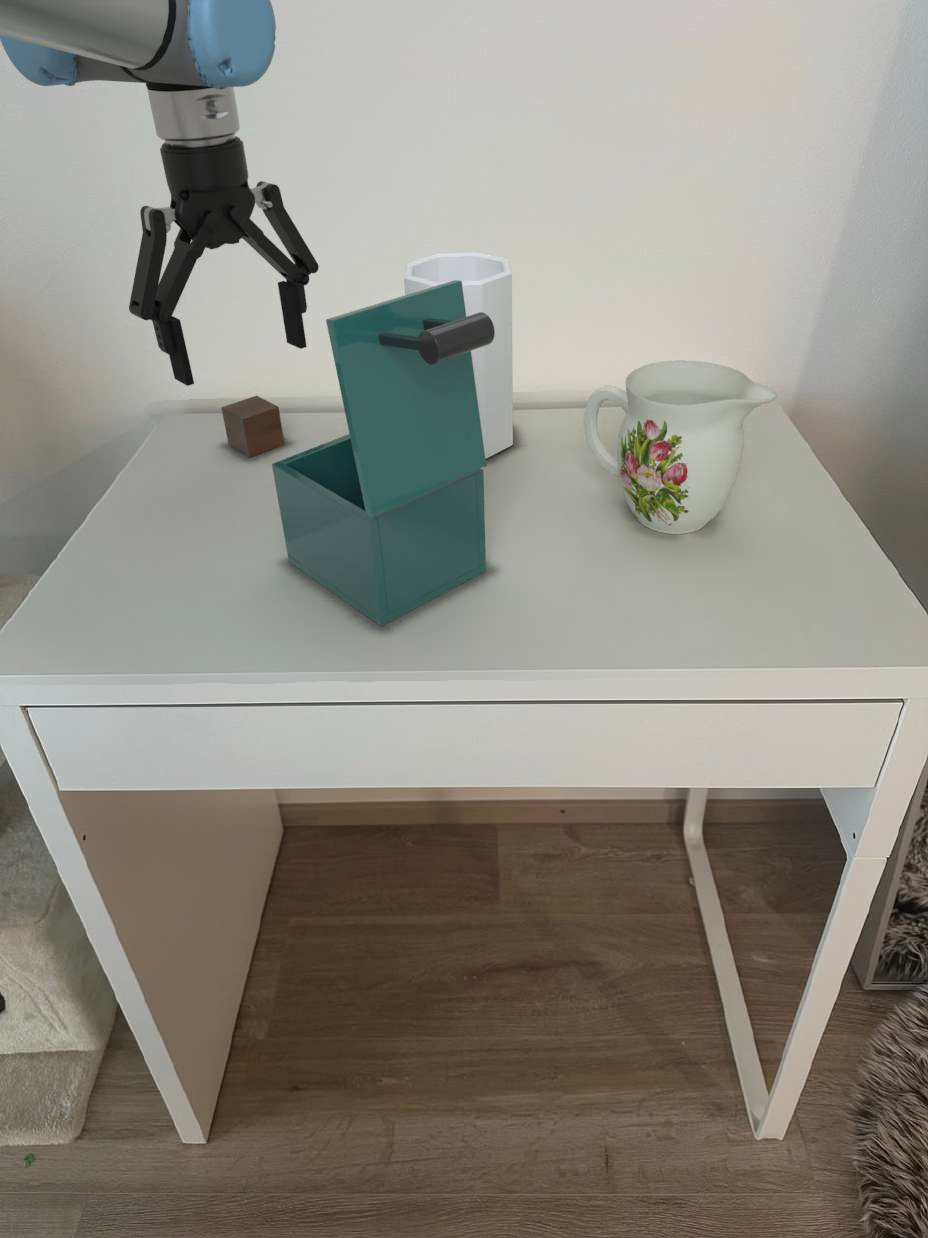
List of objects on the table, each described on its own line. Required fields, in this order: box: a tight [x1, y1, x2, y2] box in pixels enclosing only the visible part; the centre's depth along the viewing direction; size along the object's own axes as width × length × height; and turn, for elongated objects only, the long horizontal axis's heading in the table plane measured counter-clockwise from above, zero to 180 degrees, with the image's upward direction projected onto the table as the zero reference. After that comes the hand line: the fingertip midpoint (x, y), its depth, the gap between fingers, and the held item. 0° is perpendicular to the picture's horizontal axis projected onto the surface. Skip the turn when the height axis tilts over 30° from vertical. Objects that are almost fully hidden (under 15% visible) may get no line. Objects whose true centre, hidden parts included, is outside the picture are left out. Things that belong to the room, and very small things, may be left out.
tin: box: [271, 433, 487, 627], centre depth 80 cm, size 14×12×10 cm
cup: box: [403, 251, 514, 460], centre depth 97 cm, size 11×11×18 cm
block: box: [220, 395, 285, 458], centre depth 102 cm, size 4×4×4 cm
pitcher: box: [583, 359, 779, 535], centre depth 84 cm, size 11×18×14 cm, turn 51°
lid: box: [325, 280, 495, 517], centre depth 67 cm, size 14×12×8 cm
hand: (242, 362), depth 98 cm, fingers open, 13 cm apart
